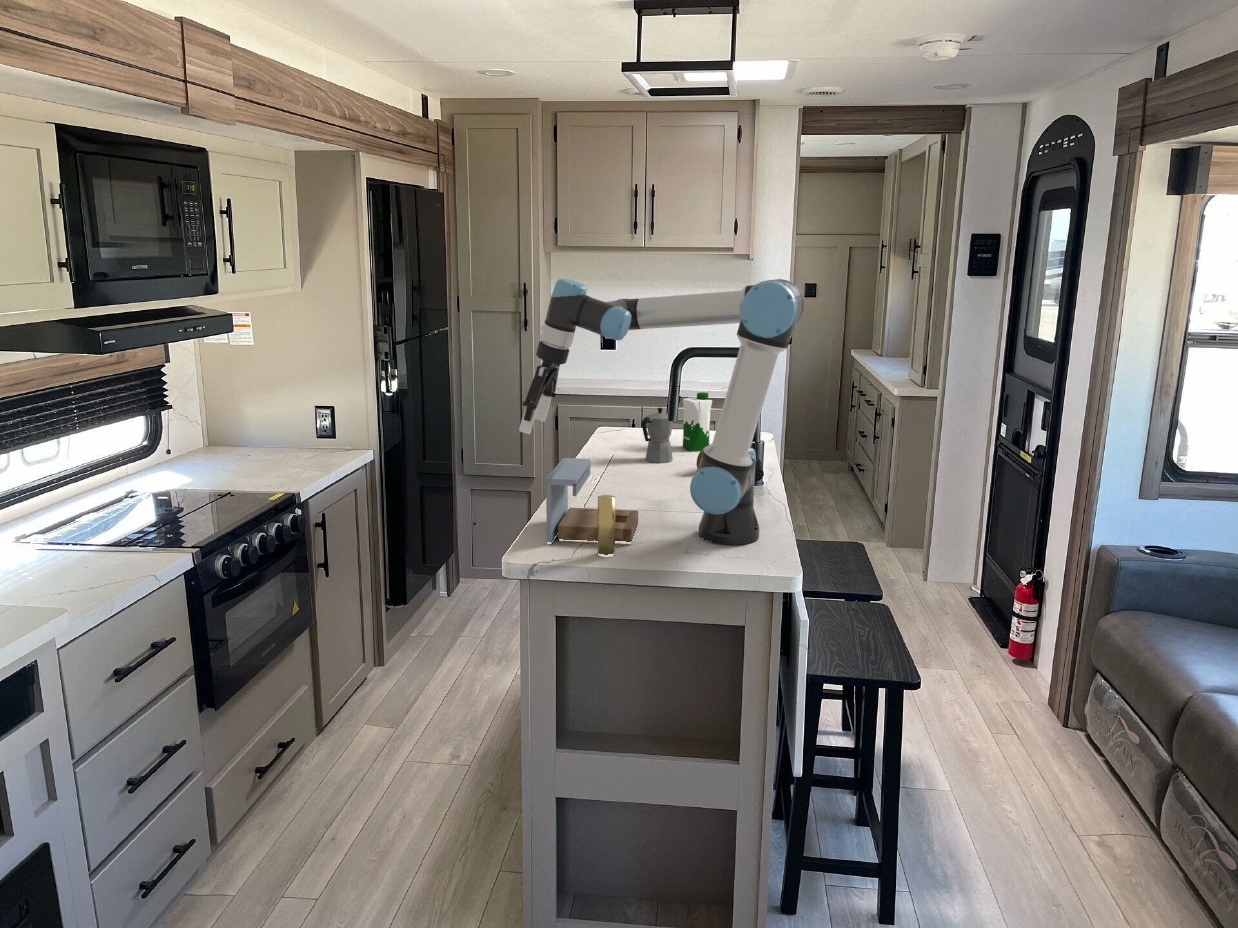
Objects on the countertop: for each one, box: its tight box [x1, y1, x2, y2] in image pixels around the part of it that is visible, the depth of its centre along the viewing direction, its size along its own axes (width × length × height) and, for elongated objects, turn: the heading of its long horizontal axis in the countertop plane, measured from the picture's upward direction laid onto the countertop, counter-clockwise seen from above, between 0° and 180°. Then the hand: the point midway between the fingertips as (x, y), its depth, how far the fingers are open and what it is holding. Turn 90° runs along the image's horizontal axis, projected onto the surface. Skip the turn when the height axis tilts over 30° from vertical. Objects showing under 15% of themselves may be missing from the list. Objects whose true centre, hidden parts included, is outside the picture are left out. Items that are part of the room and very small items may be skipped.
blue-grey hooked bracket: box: [545, 457, 591, 543], centre depth 229 cm, size 7×22×16 cm, turn 173°
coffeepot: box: [641, 407, 674, 464], centre depth 306 cm, size 15×9×18 cm, turn 137°
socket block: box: [557, 507, 639, 542], centre depth 230 cm, size 18×16×4 cm
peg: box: [597, 494, 616, 555], centre depth 212 cm, size 4×4×14 cm
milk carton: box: [682, 392, 713, 453], centre depth 324 cm, size 9×9×20 cm
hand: (532, 426), depth 225 cm, fingers open, 13 cm apart
